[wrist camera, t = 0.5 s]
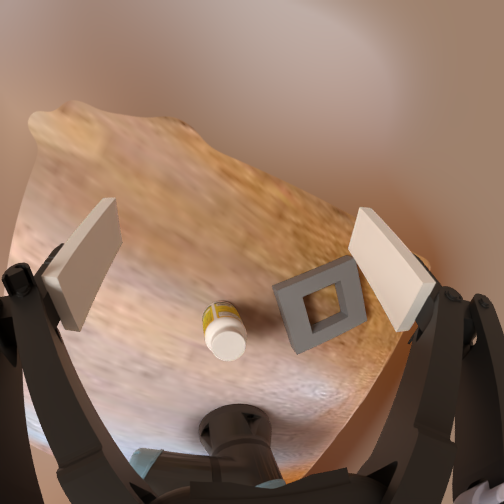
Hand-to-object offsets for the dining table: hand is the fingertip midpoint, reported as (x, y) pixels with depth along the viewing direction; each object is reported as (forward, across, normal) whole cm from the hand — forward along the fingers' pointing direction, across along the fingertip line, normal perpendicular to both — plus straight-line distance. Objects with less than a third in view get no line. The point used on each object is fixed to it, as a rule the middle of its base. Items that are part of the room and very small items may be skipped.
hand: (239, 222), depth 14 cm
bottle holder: (+22, -17, +27) cm, 39 cm away
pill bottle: (+20, +1, +29) cm, 35 cm away
